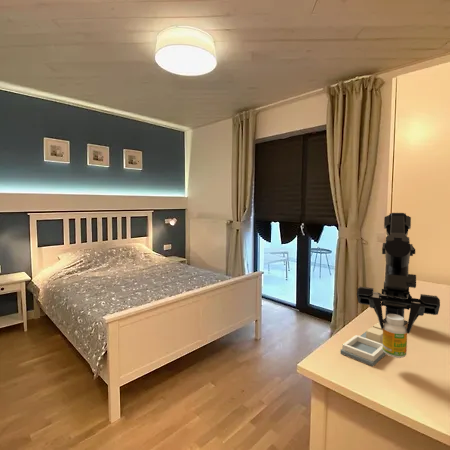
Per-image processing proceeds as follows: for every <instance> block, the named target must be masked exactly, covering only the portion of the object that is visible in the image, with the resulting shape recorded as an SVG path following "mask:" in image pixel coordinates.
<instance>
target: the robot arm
mask: <svg viewBox="0 0 450 450" xmlns="http://www.w3.org/2000/svg"><path fill="white" fill-rule="evenodd" d="M383 218H384V219H383V220H384V221H383V229H385V234H386V236H385V242H382V248H381V251H382V252H381V254H382V255H384V258H385V269H384V271H385V272H384V281H383V288H381V293H380V292H376V291H374V288H373V287H366V286H359V287H357V289H356V298H357V302H358V303H359V304H360V305H367V306H369V308H371V309H373V311H374V312H375V315H376V316H377V319H378V322H379V323H380V326H381V329H383V324H384V323H385V322H387V321H386V315H387V314H397V315H400V316H402V317H404V318H405V310H407V311H409V310H410V311H409V314H408V320H405V319H404V326H406V325H407V326H406V328H407V335H409V334H410V332H411V330H412V328H413V326H414V323H415V322H416V320H417V319H418V318H419V316H421V317H423V316H424V315H426V314H427V315H433V316H437V315H439V310H440V308H441V300H440V298H439V296H437V295H432V294H431V295H430V294H425V293H420V296H419V297H420V298H415V297H412V295H411V294H410V293H411V292H410V288H413V289H415V288H416V287H417V274H413V273H409V269H410V268H409V264H410V258H411V257H413V256H414V255H416V248H415V247H414V245H413V244H412V243H410V242H411V240H410V237H409V236H408V233H409V230H411V227H412V226H411V225H412V217H411V216H409V215H407V213H406V212H391V213H389V215H388V214H387V215H386V216H384V217H383ZM383 307H385V318H384V316H383Z"/></svg>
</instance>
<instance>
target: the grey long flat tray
mask: <svg viewBox="0 0 450 450" xmlns="http://www.w3.org/2000/svg"><path fill="white" fill-rule="evenodd" d="M382 346H383V329H381V326H380V323H379V321H378V322H377V323H375V324H373V326H371V327H369V328H368V329H367V330H366V331H365V332H363V333H362V334H360V335H359V334H358V335H357V334H355V335H354V336H352V337H350V338H349V339H347V341H345V342H344V343H343V344H342V348H341V349H340V354H341V355H343V356H346V357H348V358H350V359H354V360H355V361H359V362H361V363H363V364H366V365H368V366H370V367H374V366H375V365H377V363H379V362H380V361H381V360H382V359H383V358H384V357H385V356H386V355H387V354H385V353H384V352H383V349H382Z"/></svg>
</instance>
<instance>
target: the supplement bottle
mask: <svg viewBox="0 0 450 450" xmlns="http://www.w3.org/2000/svg"><path fill="white" fill-rule="evenodd" d="M404 320H405V316H404V317H402V316H400V315H397V314H387V315H386V321H387V322H385V323H383V346H382V349H383V352H384V353H385V354H386V355H387V356H390V357H393V358H396V359H401V358H405V357H407V350H408V349H407V347H408V345H407V344H408V334H407V326H406V325H404Z"/></svg>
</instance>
